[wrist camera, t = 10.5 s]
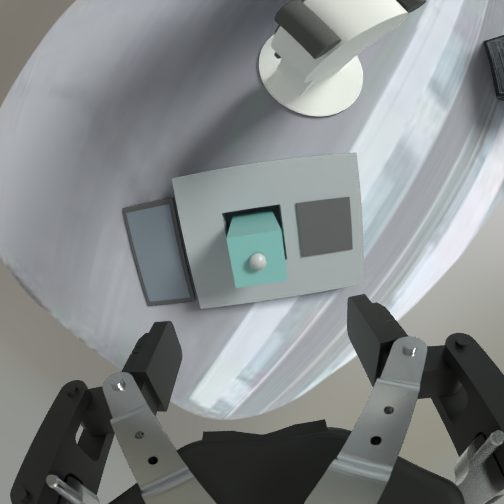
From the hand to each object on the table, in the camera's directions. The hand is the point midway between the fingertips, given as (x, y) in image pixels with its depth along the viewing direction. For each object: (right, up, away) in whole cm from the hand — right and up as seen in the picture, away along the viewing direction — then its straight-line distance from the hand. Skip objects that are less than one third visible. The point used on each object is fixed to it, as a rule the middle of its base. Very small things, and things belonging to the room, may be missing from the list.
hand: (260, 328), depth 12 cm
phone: (-11, +3, +19) cm, 22 cm away
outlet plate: (+2, +6, +17) cm, 18 cm away
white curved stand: (+6, +23, +12) cm, 27 cm away
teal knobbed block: (0, +6, +17) cm, 18 cm away
